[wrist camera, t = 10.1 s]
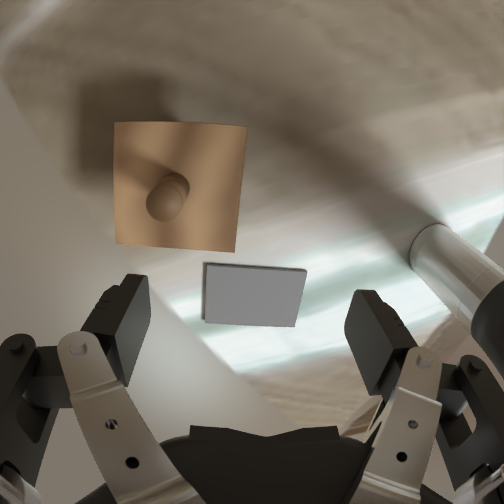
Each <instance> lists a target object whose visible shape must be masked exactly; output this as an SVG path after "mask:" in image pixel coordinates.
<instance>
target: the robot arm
mask: <svg viewBox="0 0 504 504" xmlns="http://www.w3.org/2000/svg"><path fill="white" fill-rule="evenodd" d="M409 259H410V265H411V267H412V269H413V270H414V271H415V272H416V274H417V275H418V276H419V277H420V278H421V279H422V280H423V281H424V282H425V283H426V284H427V285H428V286H429V288H430V289H431V290H432V291H433V292H434V293H435V294H436V295H437V296H438V297H439V299H440V300H441V301H442V302H443V303H444V304H445V305H446V306H447V308H448V309H449V310H450V311H451V312H452V313H453V314H454V315H455V317H456V318H457V319H458V320H459V321H460V322H461V324H462V325H463V326H464V327H465V328H466V330H467V331H468V332H469V333H470V334H471V336H472V337H473V338H474V339H475V340H476V342H477V343H478V344H479V346H480V347H481V348H482V349H483V351H484V352H485V353H486V354H487V356H488V357H489V359H490V360H491V361H492V363H493V364H494V365H495V367H496V368H497V370H498V372H499V373H500V375H501V376H502V378H503V379H504V270H503V269H502V268H501V267H499V266H498V265H497V264H496V263H494V262H493V261H492V260H491V259H489V258H488V257H487V256H485V255H484V254H483V253H482V252H480V251H479V250H478V249H476V248H475V247H474V246H472V245H471V244H470V243H468V242H467V241H466V240H464V239H463V238H462V237H460V236H459V235H458V234H456V233H455V232H453V231H452V230H450V229H449V228H448V227H446V226H444V225H442V224H433V225H431V226H428V227H427V228H425V229H424V230H423V231H422V232H420V234H419V235H418V236H417V237H416V239H415V240H414V242H413V244H412V247H411V250H410V258H409ZM150 318H151V307H150V297H149V284H148V277H147V276H146V275H138V274H127V275H126V277H125V278H124V280H123V281H122V283H121V284H120V286H118V285H113V286H112V287H110V288H109V289H108V290H106V291H105V292H104V293H103V295H102V296H101V298H100V299H99V302H98V303H97V304H96V306H95V309H93V310H92V312H91V314H90V315H89V317H88V318H87V320H86V322H85V323H84V325H83V326H82V328H81V330H80V331H77V332H72V333H69V334H67V335H66V336H64V337H63V338H62V339H61V340H60V341H59V344H58V346H44V347H37V346H36V343H35V341H34V339H33V338H32V337H31V336H30V335H27V334H15V335H13V336H10V337H9V338H7V339H6V340H5V341H4V342H3V343H2V344H1V346H0V504H42V499H41V496H40V494H39V493H38V491H37V490H36V489H35V484H36V480H37V476H38V473H39V469H40V466H41V462H42V459H43V456H44V453H45V449H46V446H47V443H48V440H49V437H50V434H51V431H52V428H53V425H54V422H55V419H56V416H57V414H58V411H59V408H73V409H74V412H75V415H76V417H77V420H78V422H79V425H80V427H81V430H82V432H83V435H84V437H85V440H86V441H87V444H88V446H89V448H90V451H91V453H92V455H93V457H94V459H95V462H96V464H97V466H98V468H99V470H100V472H101V473H102V476H103V478H104V480H105V481H106V482H105V483H104V484H103V485H101V486H100V487H98V488H97V489H96V490H94V491H93V492H91V493H90V494H88V495H87V496H86V497H84V498H83V499H81V500H80V501H78V502H77V503H75V504H504V392H503V390H502V388H501V387H500V385H499V383H498V382H497V380H496V379H495V377H494V376H493V374H492V372H491V371H490V369H489V368H488V366H487V365H486V364H485V362H483V361H482V360H481V359H480V358H478V357H476V356H473V355H465V356H463V357H461V359H460V361H459V362H458V364H457V365H451V364H445V363H442V361H441V359H440V357H439V356H438V355H437V354H436V353H435V352H433V351H432V350H430V349H428V348H425V347H419V346H418V345H417V343H416V342H415V340H414V339H413V337H412V335H411V334H410V332H409V331H408V329H407V328H406V326H404V323H403V322H402V320H401V319H400V317H399V316H398V314H397V313H396V311H395V310H394V309H393V308H392V307H390V306H389V305H388V304H387V303H385V302H383V301H382V300H381V298H380V297H379V295H378V294H377V292H376V291H375V290H356V291H355V292H354V295H353V298H352V301H351V304H350V308H349V311H348V314H347V317H346V320H345V326H344V331H345V336H346V339H347V341H348V343H349V346H350V348H351V351H352V353H353V356H354V358H355V360H356V363H357V365H358V368H359V370H360V373H361V375H362V378H363V380H364V383H365V385H366V388H367V391H368V393H369V396H373V395H382V400H381V402H380V403H379V405H378V408H377V410H376V412H375V414H374V417H373V419H372V421H371V423H370V425H369V427H368V430H367V432H366V434H365V436H364V438H363V440H362V441H359V440H356V439H353V438H350V437H345V436H340V435H339V433H338V428H337V426H328V427H314V428H302V429H298V430H294V431H290V432H286V433H283V434H278V435H274V436H269V437H264V436H259V435H254V434H249V433H246V432H241V431H237V430H233V429H229V428H218V427H204V426H193V425H191V426H190V434H189V435H186V436H180V437H175V438H172V439H169V440H166V441H163V442H161V443H158V442H157V441H156V439H155V437H154V436H153V434H152V433H151V431H150V430H149V428H148V426H147V425H146V423H145V422H144V420H143V418H142V417H141V415H140V414H139V412H138V410H137V408H136V407H135V405H134V403H133V401H132V400H131V398H130V396H129V394H128V393H127V391H126V389H125V387H128V384H129V381H130V378H131V375H132V372H133V369H134V366H135V363H136V360H137V358H138V355H139V351H140V349H141V346H142V343H143V341H144V338H145V335H146V332H147V329H148V327H149V323H150ZM468 404H469V406H470V408H471V410H472V412H473V414H474V416H475V418H476V421H477V424H476V429H475V431H474V432H473V433H472V432H471V430H470V427H469V425H468V423H467V421H466V419H465V417H464V415H463V413H462V412H463V411H464V409H465V408H466V407H467V405H468ZM435 437H436V440H437V443H438V445H439V448H440V450H441V453H442V456H443V458H444V461H445V464H446V467H447V470H448V472H449V476H450V479H451V481H452V485H453V488H454V491H455V494H454V498H453V503H451V502H450V501H448V500H447V499H445V498H443V497H442V496H440V495H439V494H437V493H436V492H434V491H433V490H431V489H430V488H428V487H427V486H425V485H424V484H422V481H423V478H424V475H425V472H426V469H427V465H428V462H429V458H430V455H431V451H432V447H433V444H434V440H435Z"/></svg>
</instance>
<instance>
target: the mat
mask: <svg viewBox="0 0 504 504" xmlns="http://www.w3.org/2000/svg"><path fill="white" fill-rule="evenodd" d="M306 276H307V271H306V270H294V269H279V268H263V267H249V266H234V265H220V264H207V276H206V300H205V323H213V324H229V325H248V326H272V327H295V323H296V319H297V314H298V310H299V306H300V302H301V298H302V293H303V289H304V285H305V280H306Z"/></svg>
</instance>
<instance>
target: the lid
mask: <svg viewBox="0 0 504 504" xmlns="http://www.w3.org/2000/svg"><path fill="white" fill-rule="evenodd" d="M247 130H248V127H247V126H236V125H224V124H211V123H193V122H165V121H124V122H114V150H113V188H114V217H115V234H116V244H125V245H138V246H151V247H165V248H178V249H192V250H205V251H219V252H233V253H235V242H236V232H237V223H238V213H239V203H240V194H241V184H242V175H243V166H244V157H245V148H246V139H247Z"/></svg>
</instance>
